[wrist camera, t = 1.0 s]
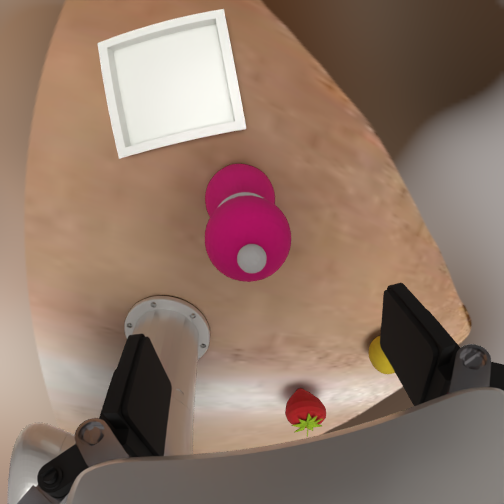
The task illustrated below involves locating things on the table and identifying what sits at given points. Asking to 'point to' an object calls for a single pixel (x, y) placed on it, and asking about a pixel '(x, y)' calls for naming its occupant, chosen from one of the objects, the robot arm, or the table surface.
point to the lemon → (379, 357)
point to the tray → (171, 83)
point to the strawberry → (305, 410)
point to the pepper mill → (245, 224)
